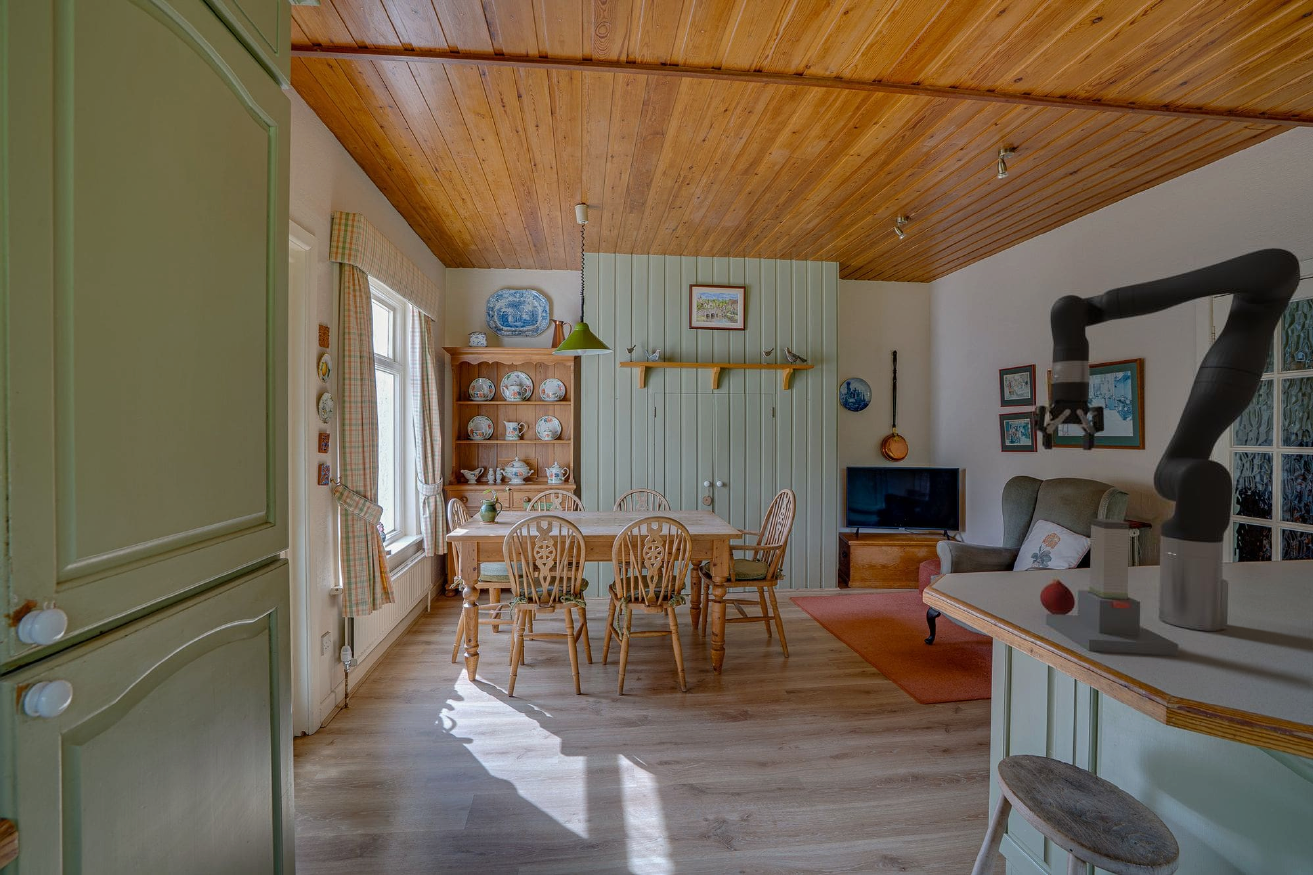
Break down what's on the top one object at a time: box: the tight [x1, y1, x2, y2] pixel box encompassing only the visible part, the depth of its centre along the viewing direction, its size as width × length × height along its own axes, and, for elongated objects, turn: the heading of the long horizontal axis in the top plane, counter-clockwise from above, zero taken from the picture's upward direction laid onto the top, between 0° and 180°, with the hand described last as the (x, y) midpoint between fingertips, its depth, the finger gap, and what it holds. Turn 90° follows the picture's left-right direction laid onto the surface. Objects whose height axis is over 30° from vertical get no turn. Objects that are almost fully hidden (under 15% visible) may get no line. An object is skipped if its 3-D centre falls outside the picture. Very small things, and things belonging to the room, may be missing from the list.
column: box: [1088, 518, 1130, 600], centre depth 106 cm, size 4×4×14 cm
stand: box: [1045, 589, 1179, 657], centre depth 106 cm, size 14×14×8 cm
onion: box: [1039, 578, 1076, 615], centre depth 118 cm, size 6×6×8 cm
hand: (1067, 449), depth 136 cm, fingers open, 8 cm apart
